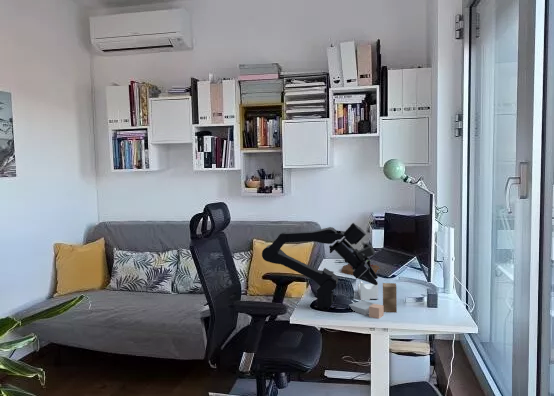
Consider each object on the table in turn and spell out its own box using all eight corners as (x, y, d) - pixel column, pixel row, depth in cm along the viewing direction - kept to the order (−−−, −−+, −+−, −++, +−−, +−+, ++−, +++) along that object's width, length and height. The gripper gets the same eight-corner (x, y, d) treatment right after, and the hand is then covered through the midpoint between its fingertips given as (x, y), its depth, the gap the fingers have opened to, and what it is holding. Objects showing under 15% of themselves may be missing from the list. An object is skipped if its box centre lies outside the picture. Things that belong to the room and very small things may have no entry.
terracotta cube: (379, 318, 173) (378, 308, 173) (369, 316, 175) (368, 306, 175) (383, 315, 176) (383, 305, 176) (373, 313, 178) (373, 303, 178)
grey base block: (364, 315, 178) (364, 309, 177) (349, 310, 184) (349, 304, 184) (378, 311, 183) (378, 304, 182) (362, 306, 189) (362, 300, 189)
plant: (336, 274, 241) (336, 253, 240) (347, 266, 259) (346, 246, 258) (375, 277, 233) (375, 255, 232) (383, 268, 251) (383, 248, 250)
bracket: (378, 300, 195) (378, 283, 195) (361, 300, 196) (360, 283, 195) (374, 291, 208) (374, 275, 207) (358, 292, 209) (357, 275, 208)
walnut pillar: (383, 312, 180) (382, 286, 179) (383, 307, 185) (382, 283, 184) (396, 312, 179) (396, 286, 178) (396, 308, 184) (395, 283, 183)
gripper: (361, 242, 173) (392, 272, 171) (363, 234, 191) (391, 261, 189) (340, 263, 175) (371, 293, 174) (344, 253, 193) (371, 280, 192)
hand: (377, 281), depth 182 cm, fingers open, 9 cm apart
